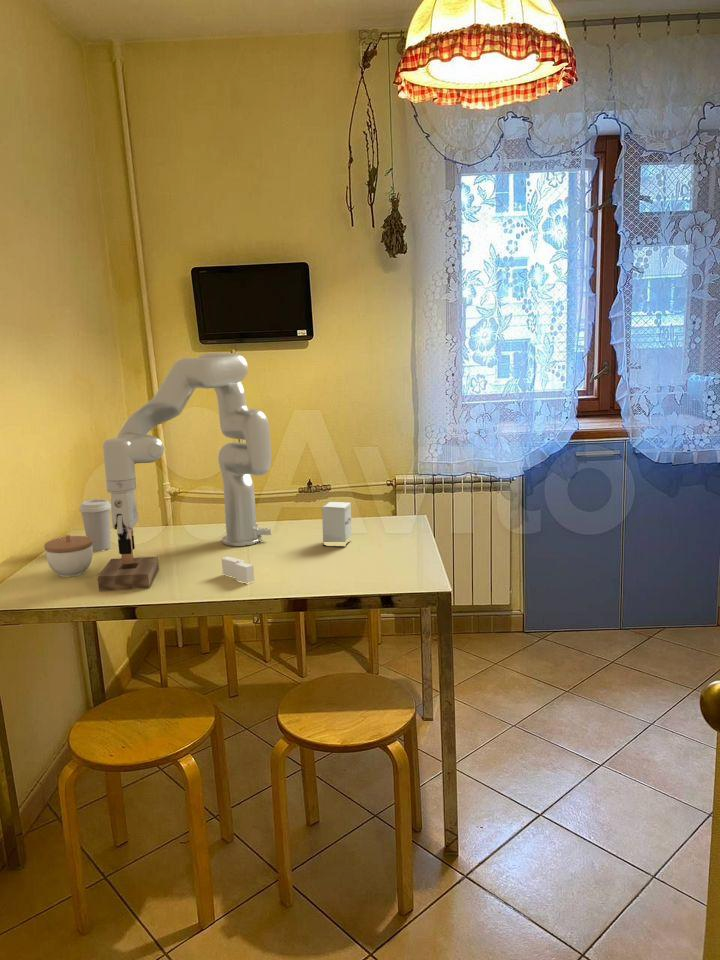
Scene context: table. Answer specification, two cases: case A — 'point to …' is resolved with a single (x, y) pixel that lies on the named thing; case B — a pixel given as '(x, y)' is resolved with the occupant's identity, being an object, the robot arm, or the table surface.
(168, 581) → the table surface
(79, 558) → the lidded bowl
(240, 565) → the napkin holder
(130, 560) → the peg
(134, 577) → the hole block
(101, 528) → the coffee cup
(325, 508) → the supplement box
